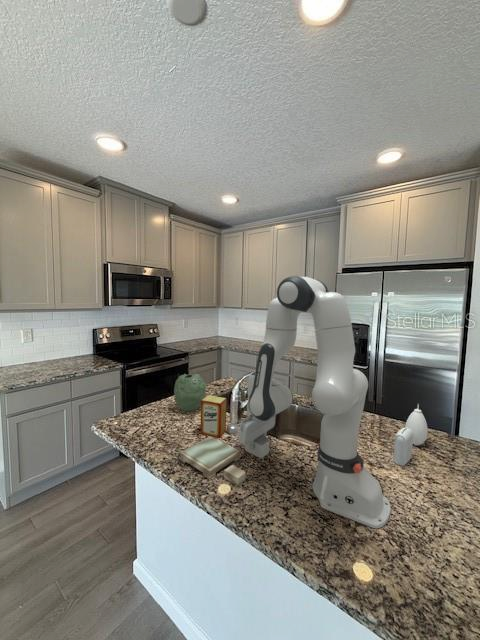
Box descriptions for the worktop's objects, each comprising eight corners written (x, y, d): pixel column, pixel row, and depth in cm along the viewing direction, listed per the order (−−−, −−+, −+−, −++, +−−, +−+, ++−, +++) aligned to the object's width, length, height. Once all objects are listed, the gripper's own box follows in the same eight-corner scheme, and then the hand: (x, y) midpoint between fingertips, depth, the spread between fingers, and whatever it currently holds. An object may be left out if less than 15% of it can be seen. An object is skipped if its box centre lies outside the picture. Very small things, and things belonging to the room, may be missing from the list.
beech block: (245, 480, 91) (245, 472, 91) (237, 486, 88) (237, 478, 88) (232, 472, 95) (232, 464, 95) (224, 478, 92) (224, 470, 92)
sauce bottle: (411, 438, 122) (414, 399, 120) (430, 446, 115) (433, 405, 113) (400, 441, 118) (403, 401, 117) (418, 451, 111) (422, 408, 110)
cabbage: (182, 402, 156) (182, 368, 154) (211, 407, 149) (212, 372, 147) (165, 412, 141) (165, 375, 139) (197, 419, 135) (198, 380, 133)
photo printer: (400, 452, 110) (403, 423, 109) (412, 457, 107) (415, 427, 106) (391, 462, 103) (393, 431, 102) (404, 468, 100) (406, 435, 99)
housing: (268, 453, 107) (269, 438, 107) (261, 458, 103) (261, 443, 103) (252, 445, 112) (253, 431, 112) (245, 450, 108) (245, 436, 108)
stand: (240, 458, 103) (240, 450, 103) (209, 479, 91) (209, 470, 90) (210, 443, 113) (210, 435, 113) (179, 460, 101) (179, 451, 101)
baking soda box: (225, 431, 123) (226, 397, 122) (220, 438, 117) (220, 402, 116) (206, 427, 126) (207, 394, 125) (200, 434, 120) (201, 399, 119)
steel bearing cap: (239, 432, 123) (240, 425, 123) (232, 436, 120) (232, 429, 119) (231, 428, 127) (231, 422, 126) (224, 432, 123) (224, 425, 123)
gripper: (248, 423, 96) (246, 460, 98) (278, 406, 112) (277, 438, 113) (234, 417, 100) (233, 453, 102) (266, 402, 116) (264, 433, 117)
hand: (256, 445), depth 108 cm, fingers closed on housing, 5 cm apart
